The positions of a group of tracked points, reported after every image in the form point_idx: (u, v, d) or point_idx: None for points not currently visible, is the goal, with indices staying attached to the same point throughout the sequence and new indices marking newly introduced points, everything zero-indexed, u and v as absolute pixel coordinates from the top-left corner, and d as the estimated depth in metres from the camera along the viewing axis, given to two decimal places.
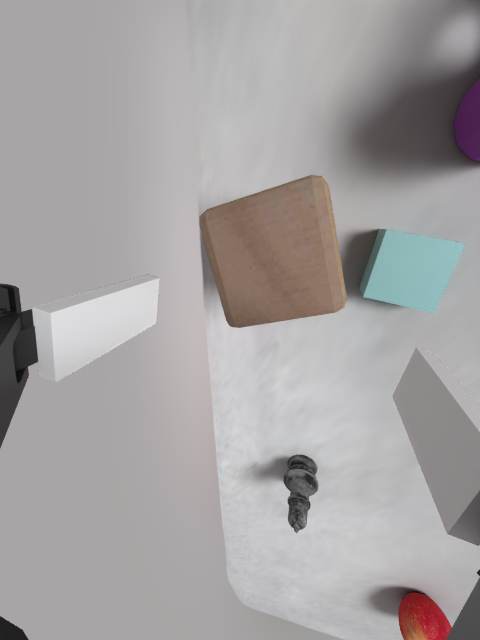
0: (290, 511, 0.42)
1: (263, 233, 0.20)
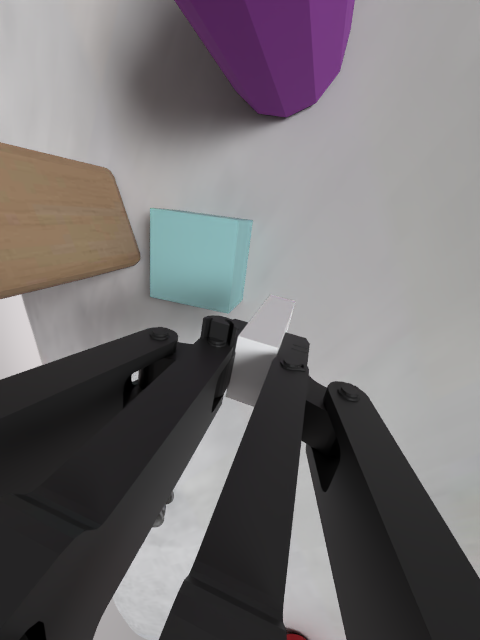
0: None
1: None
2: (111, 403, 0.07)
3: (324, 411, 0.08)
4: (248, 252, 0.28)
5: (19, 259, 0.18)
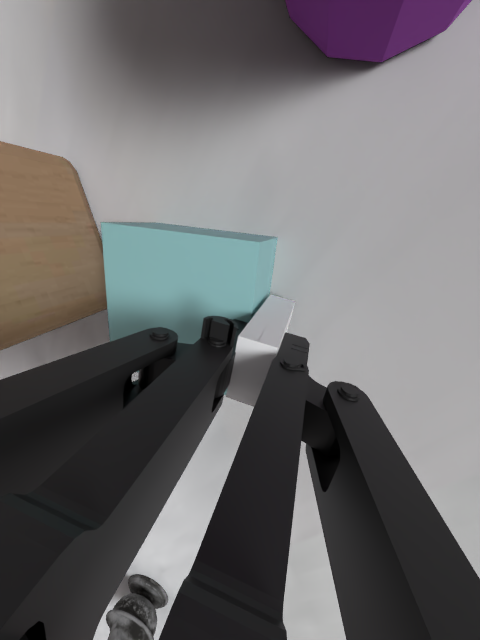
0: None
1: None
2: (111, 403, 0.07)
3: (324, 411, 0.08)
4: None
5: None
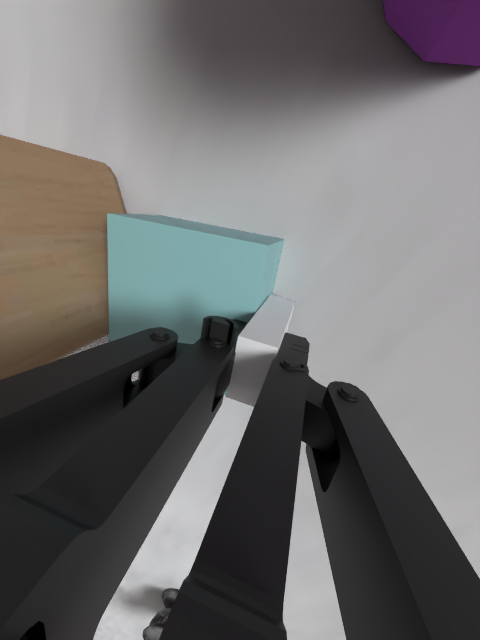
0: None
1: None
2: (111, 403, 0.07)
3: (324, 411, 0.08)
4: (272, 289, 0.17)
5: None
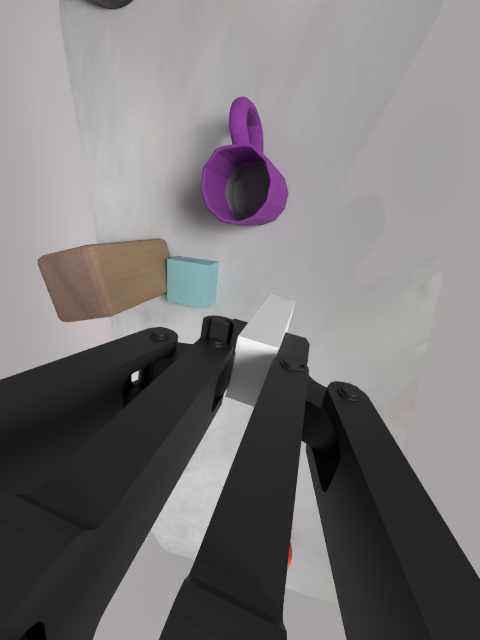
0: None
1: (66, 272, 0.38)
2: (111, 403, 0.07)
3: (324, 411, 0.08)
4: None
5: (136, 292, 0.43)
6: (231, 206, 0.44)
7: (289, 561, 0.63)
